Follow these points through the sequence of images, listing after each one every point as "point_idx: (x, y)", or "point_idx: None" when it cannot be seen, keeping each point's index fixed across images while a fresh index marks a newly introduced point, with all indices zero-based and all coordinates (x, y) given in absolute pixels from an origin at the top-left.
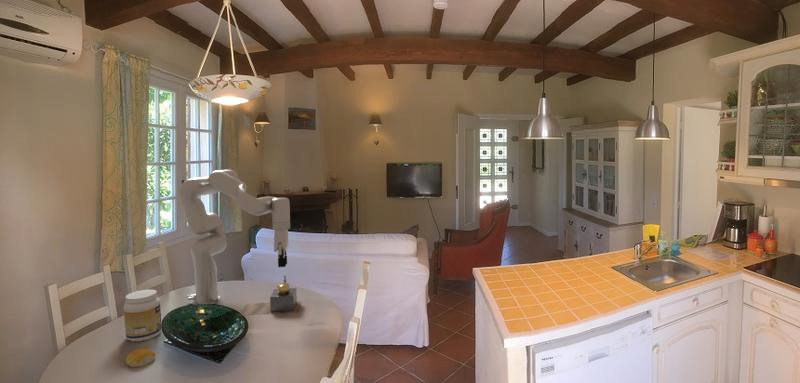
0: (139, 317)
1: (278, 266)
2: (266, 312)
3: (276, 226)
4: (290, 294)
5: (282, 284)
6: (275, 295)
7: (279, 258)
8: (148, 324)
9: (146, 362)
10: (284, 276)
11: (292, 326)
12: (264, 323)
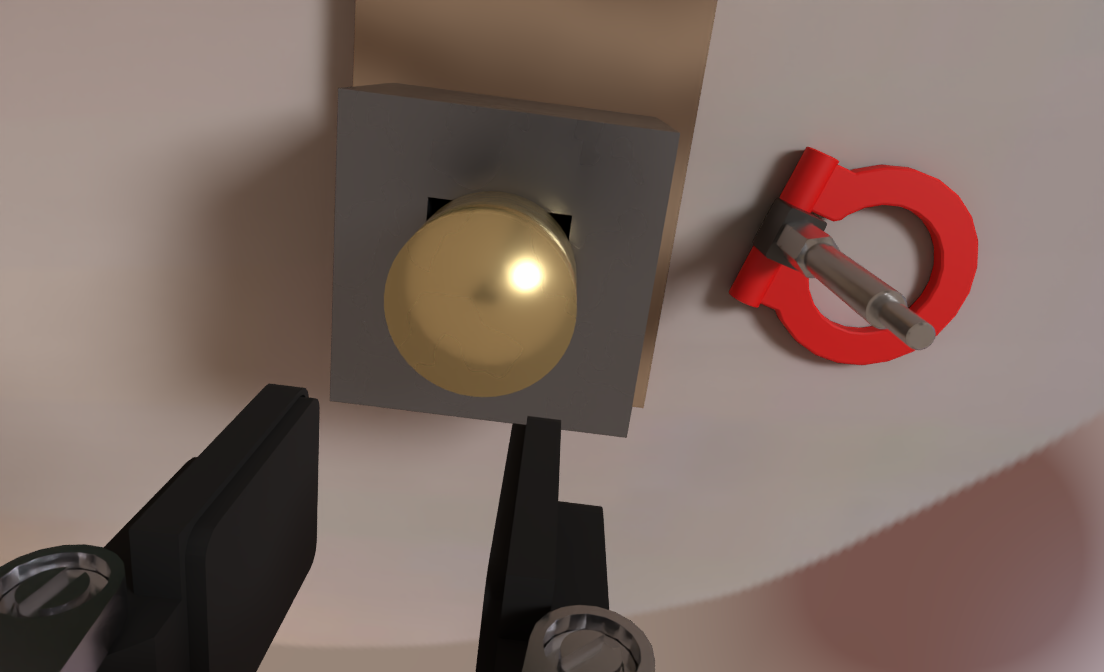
0: None
1: (265, 391)
2: (399, 32)
3: None
4: (394, 365)
5: (512, 295)
6: (393, 165)
7: (43, 595)
8: None
9: None
10: (905, 324)
11: (114, 306)
12: (206, 25)
